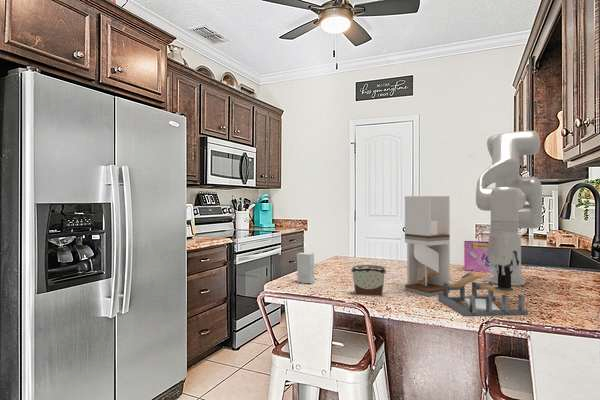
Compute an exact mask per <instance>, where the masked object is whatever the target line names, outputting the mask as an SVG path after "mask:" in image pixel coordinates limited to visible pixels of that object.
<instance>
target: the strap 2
mask: <svg viewBox="0 0 600 400" xmlns="http://www.w3.org/2000/svg"><path fill="white" fill-rule="evenodd" d="M476 283H477V291H478V290H481V291H483V290H487V291H488V290H490V291H493V293H495V292H496V293H498V294H499V293H500V294H502V295H507V296H518V295H520V291H518V290H514V287H511V288H503V289H502V288H499V287H498V286H494V285H493V286H491V285H490V283H488V282H476Z"/></svg>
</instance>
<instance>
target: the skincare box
mask: <svg viewBox="0 0 600 400" xmlns="http://www.w3.org/2000/svg"><path fill="white" fill-rule="evenodd" d="M314 257H315V253H312V252H298V253H296V265H297V266H296V268H297V271H296V272H297V275H296V276H297V283H298V282H301V283H300V284H304V283H310V284H309V285H312V284H314V283H315V282H316V281H315V258H314ZM313 282H314V283H313ZM311 283H312V284H311Z"/></svg>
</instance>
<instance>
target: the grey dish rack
mask: <svg viewBox="0 0 600 400" xmlns="http://www.w3.org/2000/svg"><path fill="white" fill-rule="evenodd" d="M477 283H478V282H475V281H472V282H471V295H469V296H468V295H467V296H466V295H465V294H466V292H465V291H466V290H465V289H466V288H465V287H466V285H464V286H462V290H459V296H449V293H448V284H447V283H443V293H438V295H437V301H439V302H441V303H442V304H444V305H446V306H447V307H449V308H450V309H452V310H453V311H456V312H458V313H459V314H460V315H463V316H464V317H480V316H481V317H482V316H484V317H485V316H514V315H515V316H517V315H518V316H519V315H529V310H527V309H525V299H526V297H525V295H523V294H519V295H517V297H518V298H517V300H518V301H517V302H518V307H517V309H509V295H507V294H502V297H501V300H502V301H501V307H502V309H500V310H492V302H493V301H496V296H494V291H490V290H487V291H488V295H478V290H477ZM487 283H490V285H491V286H494V283H493V282H491V281H488V282H487ZM465 298H470V308H469V307H468V305H465V304H463V303H461V301H463V302H465V301H464V299H465ZM475 299H486V311H475ZM459 301H460V302H459Z"/></svg>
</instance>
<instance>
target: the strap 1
mask: <svg viewBox="0 0 600 400" xmlns="http://www.w3.org/2000/svg"><path fill="white" fill-rule="evenodd" d="M484 273H485V272H473V273H472V272H471V273H470V272H469V273H466V274H464V275H463V276H461V278H460V279H458V281H455V282H453V283H450V284H448V290H450V291H460V290H462V286H464V285H465V286H466V285H468V284H470V283H472V282H475V281H477V280H479V279H480V278H483V277H484V276H485V274H484Z"/></svg>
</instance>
